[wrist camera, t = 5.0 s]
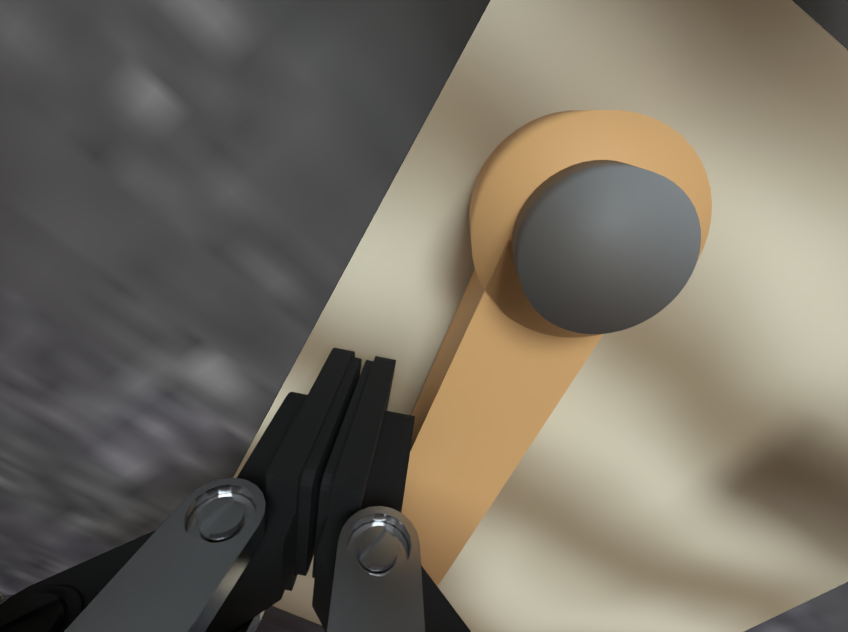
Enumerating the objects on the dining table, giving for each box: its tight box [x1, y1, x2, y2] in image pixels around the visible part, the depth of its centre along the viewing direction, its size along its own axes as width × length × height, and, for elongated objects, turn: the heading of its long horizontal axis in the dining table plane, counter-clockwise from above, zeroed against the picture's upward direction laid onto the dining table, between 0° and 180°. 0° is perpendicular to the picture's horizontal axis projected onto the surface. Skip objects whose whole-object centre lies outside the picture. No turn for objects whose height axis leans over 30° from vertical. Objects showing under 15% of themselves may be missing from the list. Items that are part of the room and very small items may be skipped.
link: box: [401, 110, 712, 587], centre depth 10 cm, size 14×4×2 cm, turn 161°
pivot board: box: [233, 0, 848, 632], centre depth 12 cm, size 25×20×6 cm
